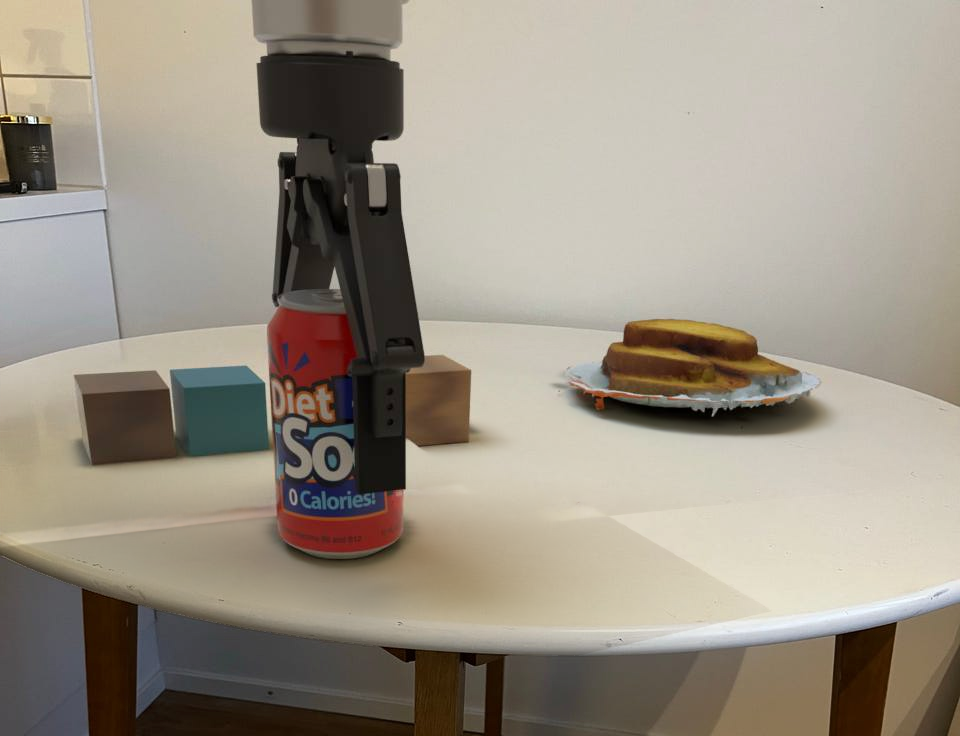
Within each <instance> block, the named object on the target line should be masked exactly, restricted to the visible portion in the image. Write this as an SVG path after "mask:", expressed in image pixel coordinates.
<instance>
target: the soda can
mask: <svg viewBox="0 0 960 736" xmlns="http://www.w3.org/2000/svg"><path fill="white" fill-rule="evenodd" d="M277 300H278V303H279V307H277V309H276V311H275V312H274V314H273V316H272V317H271V319H270V321H268V323H267V327H266V342H267V343H266V345H267V361H268V362H267V363H268V379H269V381H268V383H269V398H270V415H271V435H272V453H273V469H274V470H273V471H274V487H275V489H274V490H275V504H276V505H275V506H276V521H277V522H276V523H277V531H278V534H279V536H280V538H281V539H282V540H283V541H284V542H285V543H286V544H288V545H289V546H291V547H293V548H295V549H297V550H299V551H302V552H303V553H304V554H308V555H310V556H314V557H317V558H323V559H329V560H330V559H331V560H352V559H358V558H359V559H360V558H364V557H368V556H371V555H373V554H376V553H378V552H380V551H381V550H383V549H385V548H387V547H389V546H391V545H392V544H394V543H395V542H396V541H398V540H399V539H400V537H401V536H402V534H403V531H404V530H403V529H404V494H405V493H404V491H405V489H404V490H395V491H387V492H378V493H369V494H361V495H360V494H359V493H357V492H356V491H355V459H354V420H353V381H352V377H349V376H348V374H347V371H346V370H347V369H348V366H349V363H350V362H351V359H356V358H357V355H356V351H355V347H354V343H353V339H352V335H351V330H350V326H349V322H348V318H347V314H346V310H345V306H344V302H343V298H342V294H341V290H340V288H329V289H311V290H299V291H292V292H287V293H283V294H281V295H279V296H278V298H277Z"/></svg>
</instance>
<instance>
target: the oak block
mask: <svg viewBox="0 0 960 736" xmlns="http://www.w3.org/2000/svg"><path fill="white" fill-rule="evenodd" d="M424 358H425V361H424V364H423V366H422V367H419V368H411V369H410V372H408V373H406V440H409V442H411V443H412V444H414V445H415V446H417V447H424V446H433V445H435V446H436V445H444V444H445V445H446V444H457V443H467V442H469V440H470V419H471V418H470V417H471V416H470V414H471V395H472V394H471V392H472V391H471V389H472V369H470V368H468V367H467V366H465V365H463V364H461V363H459V362H457V361H455V360H453V359H452V358H450V357H448V356H446V355H444V354H431V355H425V357H424Z"/></svg>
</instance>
